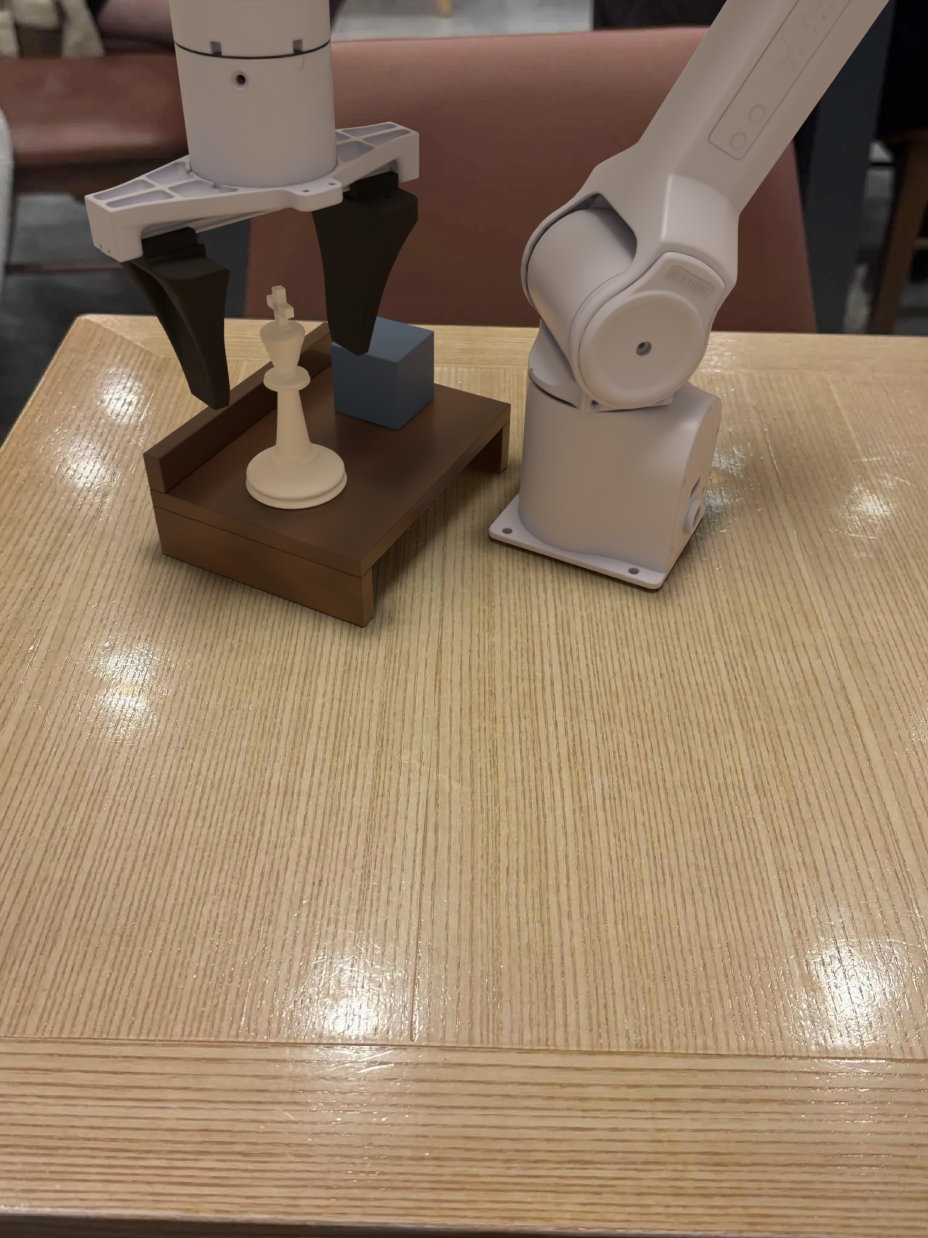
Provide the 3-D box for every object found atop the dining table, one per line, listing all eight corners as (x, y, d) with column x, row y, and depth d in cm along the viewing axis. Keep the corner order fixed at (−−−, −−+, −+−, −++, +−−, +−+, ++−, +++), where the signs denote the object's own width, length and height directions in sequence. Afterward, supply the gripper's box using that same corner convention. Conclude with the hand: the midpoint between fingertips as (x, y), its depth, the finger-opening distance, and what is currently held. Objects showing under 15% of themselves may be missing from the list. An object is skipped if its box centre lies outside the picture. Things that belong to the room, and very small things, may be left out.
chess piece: (275, 521, 51) (252, 323, 45) (229, 472, 54) (201, 280, 48) (365, 489, 54) (356, 295, 47) (316, 443, 57) (301, 255, 50)
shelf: (508, 465, 63) (513, 370, 59) (363, 627, 52) (358, 525, 48) (330, 412, 67) (324, 320, 63) (162, 553, 56) (141, 453, 52)
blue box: (434, 397, 60) (434, 330, 58) (398, 430, 58) (397, 362, 55) (372, 380, 62) (369, 313, 59) (334, 412, 59) (329, 343, 56)
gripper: (131, 99, 34) (190, 466, 43) (471, 31, 42) (461, 355, 51) (29, 51, 38) (102, 396, 47) (357, -3, 46) (367, 303, 55)
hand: (282, 371), depth 49 cm, fingers open, 7 cm apart
